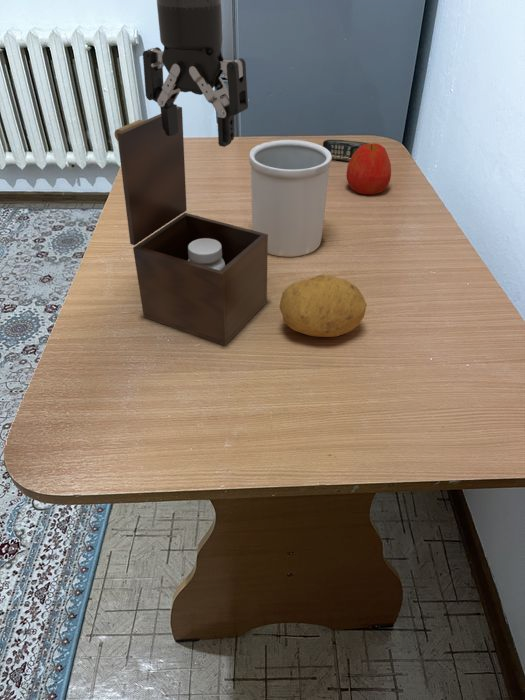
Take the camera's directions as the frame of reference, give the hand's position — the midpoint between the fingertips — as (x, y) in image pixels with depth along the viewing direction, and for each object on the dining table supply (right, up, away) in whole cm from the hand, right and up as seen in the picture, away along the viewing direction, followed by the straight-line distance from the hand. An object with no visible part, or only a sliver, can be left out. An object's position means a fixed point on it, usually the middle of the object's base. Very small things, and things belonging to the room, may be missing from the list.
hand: (198, 139), depth 76 cm
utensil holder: (+14, -7, +37) cm, 40 cm away
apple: (+33, +9, +57) cm, 66 cm away
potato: (+18, -26, +14) cm, 34 cm away
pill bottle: (0, -21, +17) cm, 28 cm away
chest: (-1, -22, +18) cm, 28 cm away
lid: (-7, -3, +7) cm, 10 cm away
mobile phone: (+32, +21, +71) cm, 80 cm away
